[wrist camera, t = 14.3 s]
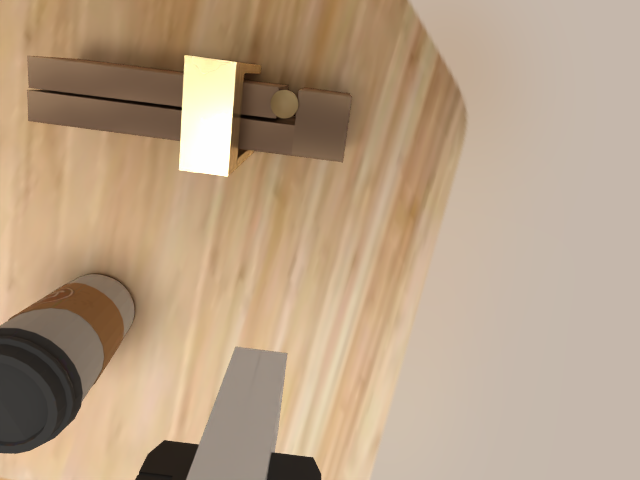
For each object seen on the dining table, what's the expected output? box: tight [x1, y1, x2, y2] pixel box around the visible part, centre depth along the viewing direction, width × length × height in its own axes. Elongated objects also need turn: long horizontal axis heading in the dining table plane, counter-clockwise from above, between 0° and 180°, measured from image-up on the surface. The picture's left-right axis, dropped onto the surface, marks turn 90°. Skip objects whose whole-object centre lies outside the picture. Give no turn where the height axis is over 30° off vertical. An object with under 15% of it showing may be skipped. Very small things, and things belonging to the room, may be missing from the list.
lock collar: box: [179, 55, 261, 176], centre depth 37 cm, size 7×3×10 cm, turn 173°
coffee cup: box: [0, 274, 135, 454], centre depth 40 cm, size 8×8×15 cm
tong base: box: [27, 88, 352, 162], centre depth 38 cm, size 4×21×7 cm, turn 83°
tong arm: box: [28, 56, 288, 118], centre depth 38 cm, size 2×16×7 cm, turn 83°
